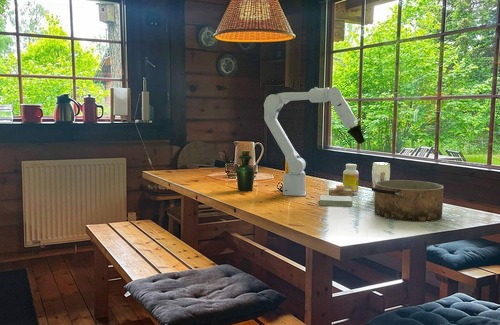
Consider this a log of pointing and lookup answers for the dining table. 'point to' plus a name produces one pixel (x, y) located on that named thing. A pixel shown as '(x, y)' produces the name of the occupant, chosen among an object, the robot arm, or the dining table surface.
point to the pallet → (340, 192)
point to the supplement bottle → (351, 178)
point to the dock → (336, 200)
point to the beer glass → (380, 173)
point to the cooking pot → (408, 200)
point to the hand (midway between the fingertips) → (361, 142)
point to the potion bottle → (245, 172)
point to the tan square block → (339, 187)
